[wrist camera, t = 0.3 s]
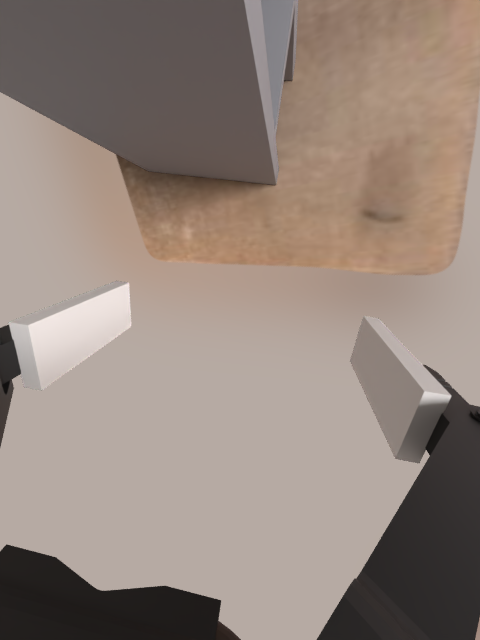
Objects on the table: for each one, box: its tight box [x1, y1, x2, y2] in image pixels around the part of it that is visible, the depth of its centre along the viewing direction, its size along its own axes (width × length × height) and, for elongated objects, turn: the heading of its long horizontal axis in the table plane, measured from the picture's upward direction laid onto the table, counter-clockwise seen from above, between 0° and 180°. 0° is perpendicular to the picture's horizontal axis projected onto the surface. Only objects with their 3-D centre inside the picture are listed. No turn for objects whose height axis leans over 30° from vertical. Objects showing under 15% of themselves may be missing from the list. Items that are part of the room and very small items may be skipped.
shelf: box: [0, 0, 298, 185], centre depth 22 cm, size 14×19×30 cm
